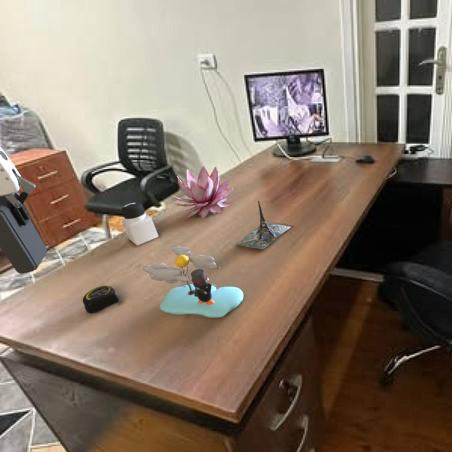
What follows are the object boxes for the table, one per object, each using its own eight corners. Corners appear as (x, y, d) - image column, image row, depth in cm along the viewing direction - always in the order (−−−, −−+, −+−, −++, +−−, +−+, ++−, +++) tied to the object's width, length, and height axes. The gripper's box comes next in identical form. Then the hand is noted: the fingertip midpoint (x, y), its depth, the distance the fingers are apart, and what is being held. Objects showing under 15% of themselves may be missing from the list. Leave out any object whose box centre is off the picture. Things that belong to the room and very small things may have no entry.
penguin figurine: (250, 293, 85) (237, 241, 78) (228, 325, 76) (210, 270, 69) (181, 285, 91) (162, 235, 83) (153, 314, 82) (129, 261, 74)
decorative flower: (185, 232, 116) (171, 190, 109) (173, 210, 133) (160, 173, 125) (246, 212, 126) (237, 172, 118) (227, 194, 142) (218, 158, 135)
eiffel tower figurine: (265, 222, 117) (257, 185, 111) (291, 227, 113) (284, 189, 107) (237, 245, 106) (226, 206, 99) (264, 251, 102) (255, 210, 95)
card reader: (30, 255, 82) (-5, 197, 75) (50, 250, 83) (17, 193, 76) (15, 277, 74) (-26, 214, 67) (37, 271, 75) (-1, 209, 68)
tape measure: (90, 319, 82) (83, 307, 80) (86, 304, 87) (79, 292, 85) (121, 305, 86) (115, 293, 84) (116, 291, 91) (110, 280, 89)
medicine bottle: (159, 236, 115) (146, 204, 109) (137, 246, 111) (122, 212, 105) (150, 230, 120) (138, 198, 114) (129, 239, 115) (115, 206, 109)
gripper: (20, 129, 71) (61, 209, 80) (-90, 145, 65) (-33, 230, 74) (10, 136, 65) (56, 221, 74) (-112, 155, 59) (-46, 246, 68)
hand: (11, 225), depth 74 cm, fingers closed on card reader, 4 cm apart
